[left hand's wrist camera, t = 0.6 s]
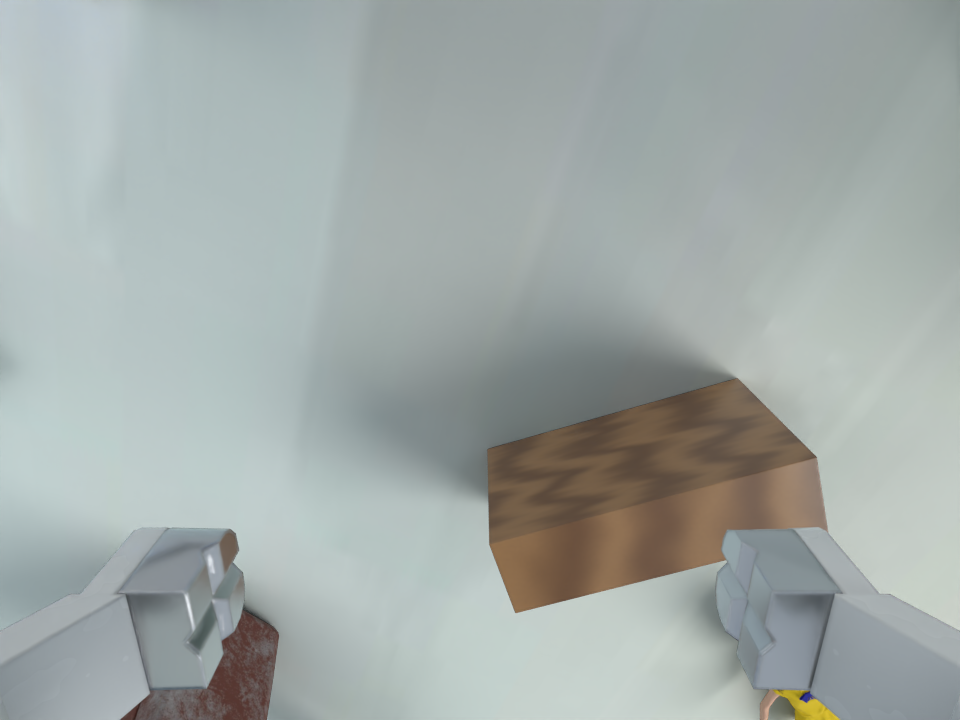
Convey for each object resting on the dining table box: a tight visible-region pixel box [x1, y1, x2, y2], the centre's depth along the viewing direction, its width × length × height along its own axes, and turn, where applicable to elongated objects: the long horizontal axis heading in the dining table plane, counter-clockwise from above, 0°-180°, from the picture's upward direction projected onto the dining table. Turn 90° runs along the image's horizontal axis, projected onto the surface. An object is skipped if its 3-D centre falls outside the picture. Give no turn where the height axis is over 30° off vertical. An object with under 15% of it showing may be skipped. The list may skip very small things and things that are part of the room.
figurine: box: [760, 689, 840, 720], centre depth 60 cm, size 13×8×25 cm
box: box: [487, 378, 828, 613], centre depth 47 cm, size 21×6×13 cm, turn 108°
